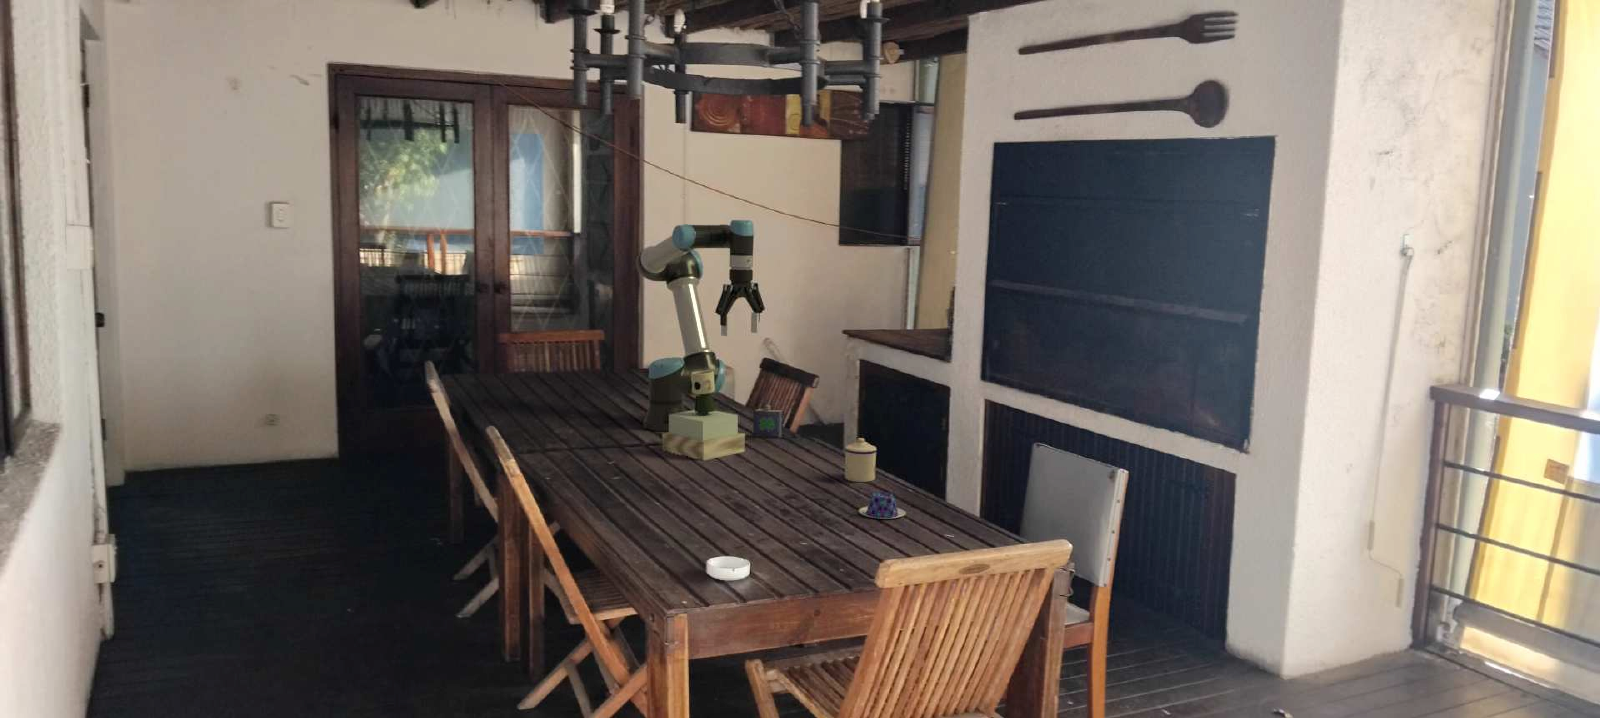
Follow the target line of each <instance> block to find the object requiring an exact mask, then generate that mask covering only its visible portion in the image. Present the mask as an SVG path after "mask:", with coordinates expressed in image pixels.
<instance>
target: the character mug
mask: <svg viewBox="0 0 1600 718" xmlns="http://www.w3.org/2000/svg"><path fill="white" fill-rule="evenodd" d="M691 382H692V392H693V393H694V394H696V395H695V401H694V410H695V412H696V411H697V414H705V413H706V414H708V413H709V412H713V411H716V410H715V409H716V408H715V404H714V400H713V399H714V398H713V395H712V394H713V393H712V392H714V391H715V384H714V372H713V371H697V372H692V373H691Z"/></svg>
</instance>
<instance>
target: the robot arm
mask: <svg viewBox="0 0 1600 718" xmlns="http://www.w3.org/2000/svg"><path fill="white" fill-rule="evenodd" d="M754 237H755V231H754V222H753V221H752V220H750V219H749V220H746V219H733V220H731V221H730V224H726V223H725V224H721V223H720V224H685V223H684V224H678V225H676V226H675V227H674V228H673V231H672V234H671V236H669V237H667V238H666V239H664V240H663V241H660V242H659V243H657V244H656V245H650V246H647V247H645V248H643V249H642V250H641V251H640V252H639V253H638V255H637V257H636V263H635V264H636V269H637V271H638V273H639V274H640V275H641V276H642V277H643V278H645V279H646V280H648V281H651V282H665V284H666V288H667V289H668V290H669V291H671V292H672V294H673V295H672V296H673V300H674V306H675V309H676V310H675V311H676V314H677V320H678V325H679V329H680V333H681V335H680V336H681V339H682V345H683V349H684V356H682V357H676V356H675V357H664V358H659V359H656V360H653V361H652V362H651V363H650V365H649V370H648V371H649V372H648V408H647V410H646V413H645V414H646V415H645V418H644V419H643V428H644V429H645V430H650V431H656V432H669V414H675V413H681V412H686V409H685V405H684V396H694V395H695V396H696V394H694V393H693V392H692V382H691V373H692V372H697V371H713V372H714V384H715V391H714V392H712V393H711V394H717V393H718V392H720V391H721V389H722V388H723V387H724V384H725V380H726V375H727V374H726V366H725V365H726V364H725V362H723V360H722V359H719V358H717V357H716V352H715V351H714V350H711V349H710V345H709V341H708V334H707V331H706V326H705V321H704V316H703V312H702V307H701V303H700V298H699V291H698V289H697V286H698V285H699V284H700V280H701V278H702V277H703V273H704V270H703V269H704V265H703V260H702V257H701V256H700V255H701V254H699V252H698V251H696V250H697V249H729V266H728V267H729V268H730V269H728V270H729V273H728V276H729V281H730V284H726V283H724V284H722V285H723V286H722V291H721V295H720V297H719V300H718V302H717V306H716V308H715V311H714V313H715V314H717V315H718V316H719V317H720V319H719V320H720V321H719V322H720V324H719V325H720V327H721V329H720V330H721V331H720V335H721V336H723V337H729V336H730V328H729V327H730V315H728V314H729V312H730V310H731V309H732V308H733V306H734V304H735V302H736V300H738V299H740V298H745V300H746V302H747V303H748V305H749V307H750V308H751V310H752V312H751V313H750V316H751V317H750V321H751V323H750V332H751V333H754V334H759V327H760V326H759V324H760V321H761V314H763V311H765V309H766V308H765V305H764V302H763V299H762V295H761V292H760V291H759V290H760V289H759V282H753V280H754V279H753V278H754V275H753V273H754V271H753V269H752V268H753V266H754V240H755V239H754Z"/></svg>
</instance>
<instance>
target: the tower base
mask: <svg viewBox="0 0 1600 718" xmlns="http://www.w3.org/2000/svg"><path fill="white" fill-rule="evenodd" d="M745 438H746V434H745V433H743V432H742V433H741V432H738V434H735V435H730V436H725V437H720V438H715V439H711V440H706V441H700V440H696V439H691V438H687V437H682V436H678V435H673V434H669V432H665V433H664V432H663V433H662V440H661V441H662V444H661V445H662V446H661V447H662V450H664V451H668V452H667V453H669V452H671V453H670V454H673V453H675V454H674V455H677V454H678V455H679V456H682V455H684V456H683V457H686V456H688V457H687V458H690V457H691V459H694V460H700V461H703V460H704V461H707V460H713V459H715V458H721V457H725V456H726V457H727V456H731V455H734V454H740V453H744V452H745V447H746V446H745V445H746V444H745V443H746V442H745V441H746V439H745ZM662 450H661V451H662ZM664 451H663V452H664Z"/></svg>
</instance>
